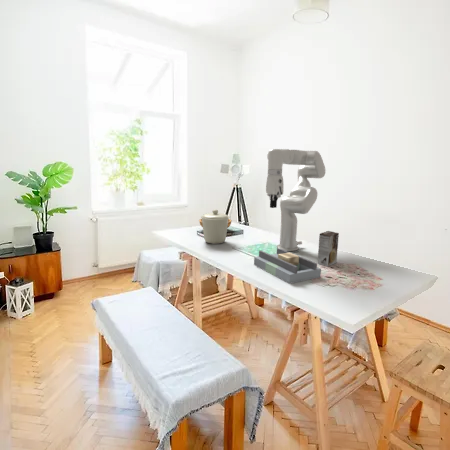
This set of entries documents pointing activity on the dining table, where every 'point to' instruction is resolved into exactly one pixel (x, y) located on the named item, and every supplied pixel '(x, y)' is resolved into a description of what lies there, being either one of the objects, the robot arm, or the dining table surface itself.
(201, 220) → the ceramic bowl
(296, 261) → the maple block
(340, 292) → the dining table surface
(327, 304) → the dining table surface
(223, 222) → the canister
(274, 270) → the lane deck
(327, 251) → the coffee box
